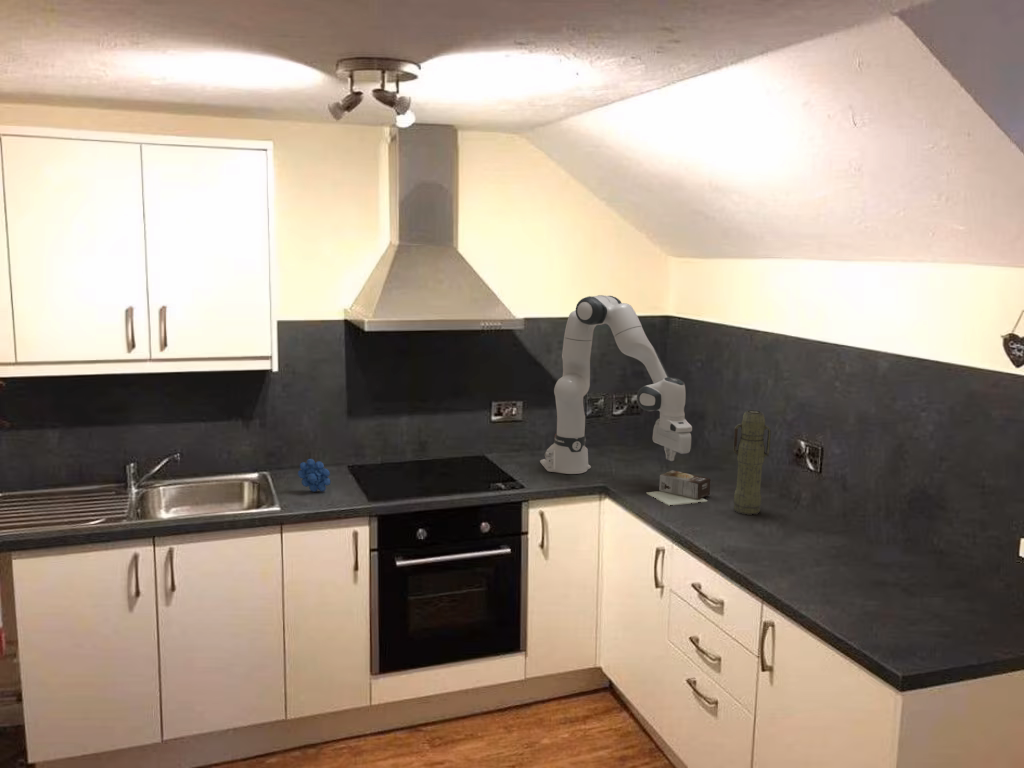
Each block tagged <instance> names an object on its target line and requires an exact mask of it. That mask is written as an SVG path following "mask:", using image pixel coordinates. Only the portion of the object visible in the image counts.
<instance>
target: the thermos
mask: <svg viewBox="0 0 1024 768" xmlns="http://www.w3.org/2000/svg"><path fill="white" fill-rule="evenodd" d="M739 428H741V429H740V434H741V436H740V440H739V442H738V431H739ZM765 430H767V437H766V438H767V440H766V448H765V443H764V436H765ZM733 434H734V435H733V449H732V450H733V452H734V454H735V455H737V457H736V461H737V474H736V475H737V476H736V488H735V491H734V493H733V496H734V497H733V505H734V506H733V511H734V512H735V511H736V512H735V513H737V512H738V513H737V514H740V513H742V514H741V515H745V514H747V515H746V516H753V515H752V514H756V515H759V514H760V513H759V512H761V511H760V510H761V505H762V495H761V483H762V473H763V465H764V462H765V458H766V457H769V455H770V449H771V448H770V447H771V437H772V436H771V434H772V431H771V429H770V427H769V425H766V418H765V415H764V412H762V411H760V410H751V409H748V410H746V411H744V413H743V415H742V420H741V423H738V424H737V425H736V426H735V427H734V433H733ZM758 513H759V514H758Z"/></svg>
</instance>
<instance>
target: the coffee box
mask: <svg viewBox="0 0 1024 768" xmlns="http://www.w3.org/2000/svg"><path fill="white" fill-rule="evenodd" d="M658 489H659V491H664V492H668V493H672V494H677V495H681V496H685V497H689V498H694V499H698V500H699V499H701V498H703V499H704V498H705V497H707V496H710V494H711V478H710V477H707V476H706V477H705V476H700V475H696V474H692V473H691V474H690V473H687V472H683V471H677V470H669V471H667V472H663V473H661V474H660V475H659V487H658Z"/></svg>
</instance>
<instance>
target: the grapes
mask: <svg viewBox="0 0 1024 768" xmlns="http://www.w3.org/2000/svg"><path fill="white" fill-rule="evenodd" d="M324 465H325V464H324V463H323V462H322V461H319V460H317V461H316V462H315V460H314V459H313V458H308V459H307V460H306V462H304V461H302V462H301V463H299V468H300V469H299V470H298V471H297V476H298V478H300V479H301V485H302V486H303V487H305V488H308V487H309V488H308V489H309V491H310V492H313V493H314V492H315V493H316V492H317V491H320V492H325V491H326V489H327V486H329V485H331V479H330V477H329V476H330V475H331V472H330V469H328V468H325V466H324Z"/></svg>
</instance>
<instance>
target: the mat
mask: <svg viewBox="0 0 1024 768" xmlns="http://www.w3.org/2000/svg"><path fill="white" fill-rule="evenodd" d="M646 495H647V496H650V497H652V498H653V497H654V498H653V499H655V498H656V499H655V500H657V501H658V502H661V503H662V502H663V503H662V504H664V505H666V506H668V507H670V505H673V506H680V505H681V506H682V505H691V503H692V504H699V503H698V502H701V503H707V502H708V500H707V499H705V498H704V497H703V498H701V499H699V500H698V499H694V498H689V497H685V496H681V495H677V494H672V493H668V492H664V491H649V492H646Z"/></svg>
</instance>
